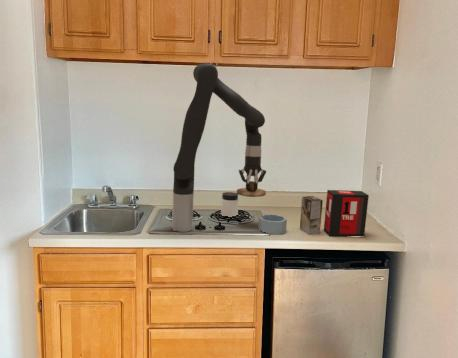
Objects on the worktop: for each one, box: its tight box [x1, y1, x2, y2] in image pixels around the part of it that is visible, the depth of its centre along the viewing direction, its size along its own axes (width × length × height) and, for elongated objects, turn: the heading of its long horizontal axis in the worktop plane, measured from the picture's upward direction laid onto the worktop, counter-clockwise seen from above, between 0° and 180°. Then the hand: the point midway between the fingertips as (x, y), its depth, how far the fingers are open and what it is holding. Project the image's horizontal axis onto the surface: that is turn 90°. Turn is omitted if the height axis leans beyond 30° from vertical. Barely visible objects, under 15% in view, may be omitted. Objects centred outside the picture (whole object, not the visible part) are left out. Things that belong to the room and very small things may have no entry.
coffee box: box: [299, 195, 324, 235], centre depth 202 cm, size 9×6×16 cm
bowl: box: [258, 213, 288, 235], centre depth 201 cm, size 12×12×6 cm
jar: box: [220, 191, 240, 217], centre depth 221 cm, size 9×8×12 cm
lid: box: [236, 180, 267, 198], centre depth 204 cm, size 14×14×6 cm
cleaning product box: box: [323, 189, 370, 238], centre depth 200 cm, size 16×9×20 cm, turn 94°
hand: (251, 190), depth 205 cm, fingers closed on lid, 3 cm apart
